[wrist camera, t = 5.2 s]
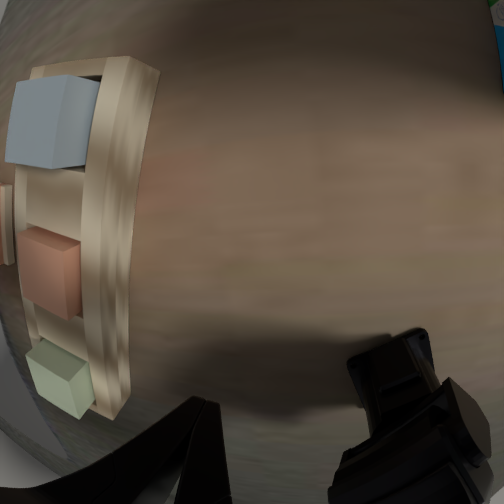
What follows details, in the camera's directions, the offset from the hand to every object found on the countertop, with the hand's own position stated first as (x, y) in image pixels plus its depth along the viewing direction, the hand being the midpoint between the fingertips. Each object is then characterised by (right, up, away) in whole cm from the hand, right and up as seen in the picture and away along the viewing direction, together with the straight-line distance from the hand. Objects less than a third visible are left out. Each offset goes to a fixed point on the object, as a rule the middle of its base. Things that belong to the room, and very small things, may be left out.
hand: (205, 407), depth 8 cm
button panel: (-12, +5, +13) cm, 18 cm away
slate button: (-10, +13, +6) cm, 17 cm away
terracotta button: (-12, +4, +11) cm, 17 cm away
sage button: (-15, -6, +13) cm, 20 cm away
